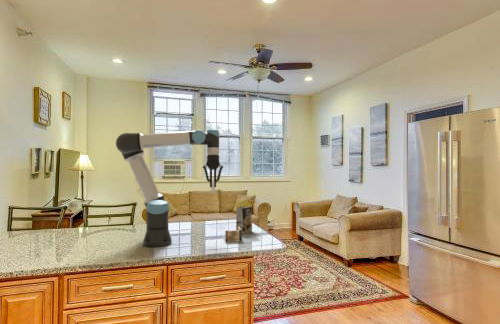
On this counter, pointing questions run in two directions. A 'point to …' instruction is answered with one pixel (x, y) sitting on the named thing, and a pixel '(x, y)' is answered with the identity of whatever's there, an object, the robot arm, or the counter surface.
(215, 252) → the counter surface
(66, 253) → the counter surface
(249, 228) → the coffee box
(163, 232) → the robot arm
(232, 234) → the fence fixed section
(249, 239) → the card
